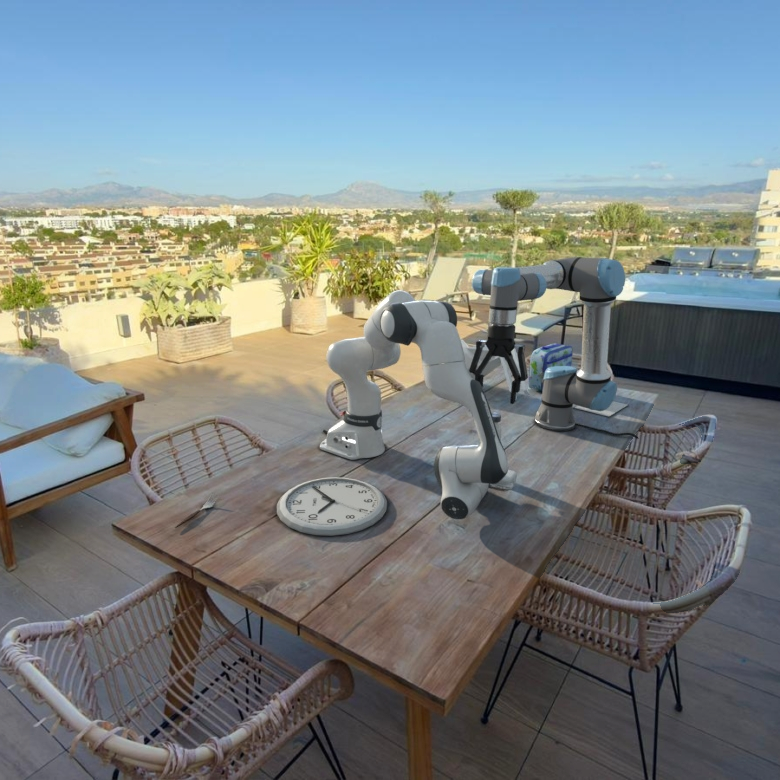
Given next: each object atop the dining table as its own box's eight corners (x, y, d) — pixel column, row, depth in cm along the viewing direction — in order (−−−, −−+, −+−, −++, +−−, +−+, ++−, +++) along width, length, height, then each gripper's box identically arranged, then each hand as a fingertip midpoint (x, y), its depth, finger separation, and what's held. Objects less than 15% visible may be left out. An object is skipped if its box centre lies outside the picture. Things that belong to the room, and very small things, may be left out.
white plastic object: (461, 429, 252) (437, 405, 227) (444, 352, 274) (420, 323, 250) (535, 404, 240) (518, 377, 215) (510, 326, 262) (492, 293, 237)
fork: (171, 528, 130) (170, 521, 130) (212, 499, 145) (211, 492, 144) (179, 530, 129) (178, 523, 129) (220, 500, 144) (219, 494, 143)
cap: (490, 422, 153) (490, 417, 153) (485, 418, 157) (486, 412, 156) (502, 422, 154) (502, 416, 153) (498, 417, 157) (498, 412, 157)
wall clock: (392, 527, 129) (268, 531, 127) (391, 533, 130) (269, 537, 127) (383, 473, 158) (282, 475, 155) (383, 478, 158) (282, 480, 156)
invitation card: (608, 416, 214) (573, 407, 224) (608, 416, 214) (573, 408, 224) (628, 404, 229) (594, 396, 238) (628, 405, 229) (594, 397, 238)
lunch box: (544, 395, 239) (549, 351, 233) (524, 390, 247) (528, 347, 240) (571, 384, 257) (577, 343, 251) (552, 380, 264) (556, 339, 258)
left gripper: (511, 480, 138) (523, 460, 150) (439, 464, 146) (455, 446, 158) (509, 501, 140) (520, 480, 152) (438, 484, 148) (454, 465, 160)
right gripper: (544, 325, 145) (536, 402, 151) (469, 318, 155) (465, 390, 162) (538, 330, 138) (529, 409, 145) (460, 321, 149) (455, 396, 155)
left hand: (486, 463), depth 155 cm, fingers open, 8 cm apart
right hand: (495, 399), depth 153 cm, fingers open, 9 cm apart
